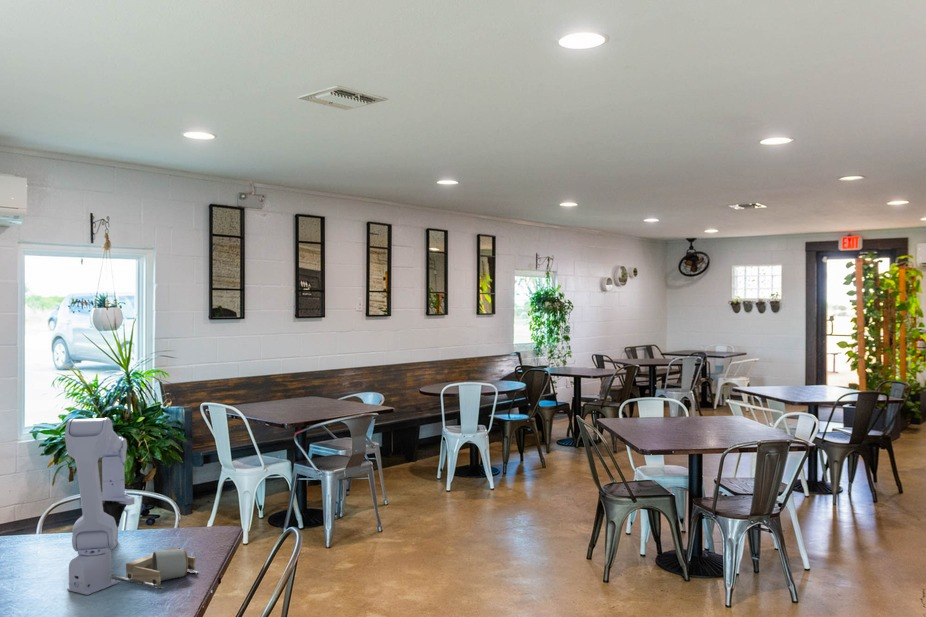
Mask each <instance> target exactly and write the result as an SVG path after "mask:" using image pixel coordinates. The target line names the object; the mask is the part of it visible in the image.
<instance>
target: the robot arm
mask: <svg viewBox="0 0 926 617" xmlns="http://www.w3.org/2000/svg"><path fill="white" fill-rule="evenodd" d="M64 441H65V448H66V452H67V455H68V457H71V458H72V459H73V460H74V463H75V466H76V472H77V480H78V488H79V489H78V490H79V496H80V503H81V511H82V512H81V513H82V515H81V516H80V517H79V518H78V519H77V520H76V521H75V522H74V525H73V526H72V529H71V531H72V538H71V545H72V548H73V550H74V551H75V552H77V556H76V557H73V558H72V559H71V560H70V561H69V564H68V565H69V566H68V587H67V588H66V590H67V591H70V592H74V593H77V594H82V595H86V596H87V595H88V596H89V595H91V594H94V593H97V592H99V591H101V590H104V589H107V588H109V587H112V586H114V585H116V584H119V583H120V580H119V579H115V578H111V574H112V550H113V549H115V547H116V546H117V545H118V542H117V540H118V539H119V527H120V523H121V520H122V519H121V518H122V515H123V514H124V510H125V509H126V507H127V506H132V505H135V497H134V496H131V495H129V494H128V492H127V491H126V490H125V487H126V486H125V484H126V482H125V481H126V480H125V479H126V478H125V463H126V462H127V461H126V460H127V450H128V443H127V438H125V437H123V436H119V435H118V434H117V433H116V432H115V431H114V430H113V421H112V420H111V418H110V417H102V418H101V417H99V418H97V417H96V418H70V419H68V421H67V422H66V424H65V429H64ZM102 457H103V458H102ZM99 458H102V492H101V486H100V478H99V469H98V459H99ZM102 500H103V501H105V502H104V503H102ZM117 527H118V528H117ZM118 541H119V540H118Z"/></svg>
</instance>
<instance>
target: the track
mask: <svg viewBox="0 0 926 617" xmlns="http://www.w3.org/2000/svg"><path fill="white" fill-rule="evenodd" d="M193 571H194V573H197V572H199V571H198V570H193ZM111 579H114V580H118V581H125V582H127V583H132V582H133V584H137V585H141V584H142V586H145V585H147V586H146V587H150V586H153V587H152V588H154V587H157V588H156V589H158V588H162V589H164V588H165V585H161V584H159V585H158V584H153V583H149V582H145V581H140V580H136V579H132V578H131V579H129V578H127V577H126V576H121V575H118V574H117V575H116V574H112V573H111ZM163 587H164V588H163Z"/></svg>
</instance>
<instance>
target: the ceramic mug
mask: <svg viewBox="0 0 926 617" xmlns="http://www.w3.org/2000/svg"><path fill="white" fill-rule="evenodd" d="M152 554H153V556H152V570H156V571H160V578H161V581H168V580H172V578H173V579H177V578H178V577H179V578H182V577H184V576H186V575H187V571H188V556H189V555H188V553H187V550H186V549H184V548H180V549H173V550H164V549H162V550H154V551H153V553H152Z"/></svg>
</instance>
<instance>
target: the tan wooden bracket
mask: <svg viewBox="0 0 926 617" xmlns="http://www.w3.org/2000/svg"><path fill="white" fill-rule="evenodd" d="M173 549H181V547H178V546H177V547H176V546H170V547H167V548H164V549H163V550H173ZM152 556H153V553H151V554H148V555H146V556H143V557H140V558H137V559H135V560H132V561H129V562H126V563H125V577H126V578H129V579H135V580H139V581H143V582H148V583H152V584H157V585H161V584H162V582H161V578H160V571H156V570H152ZM187 556H188V569H189V570H193V571H196V557H194V556H189V555H187Z"/></svg>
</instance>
